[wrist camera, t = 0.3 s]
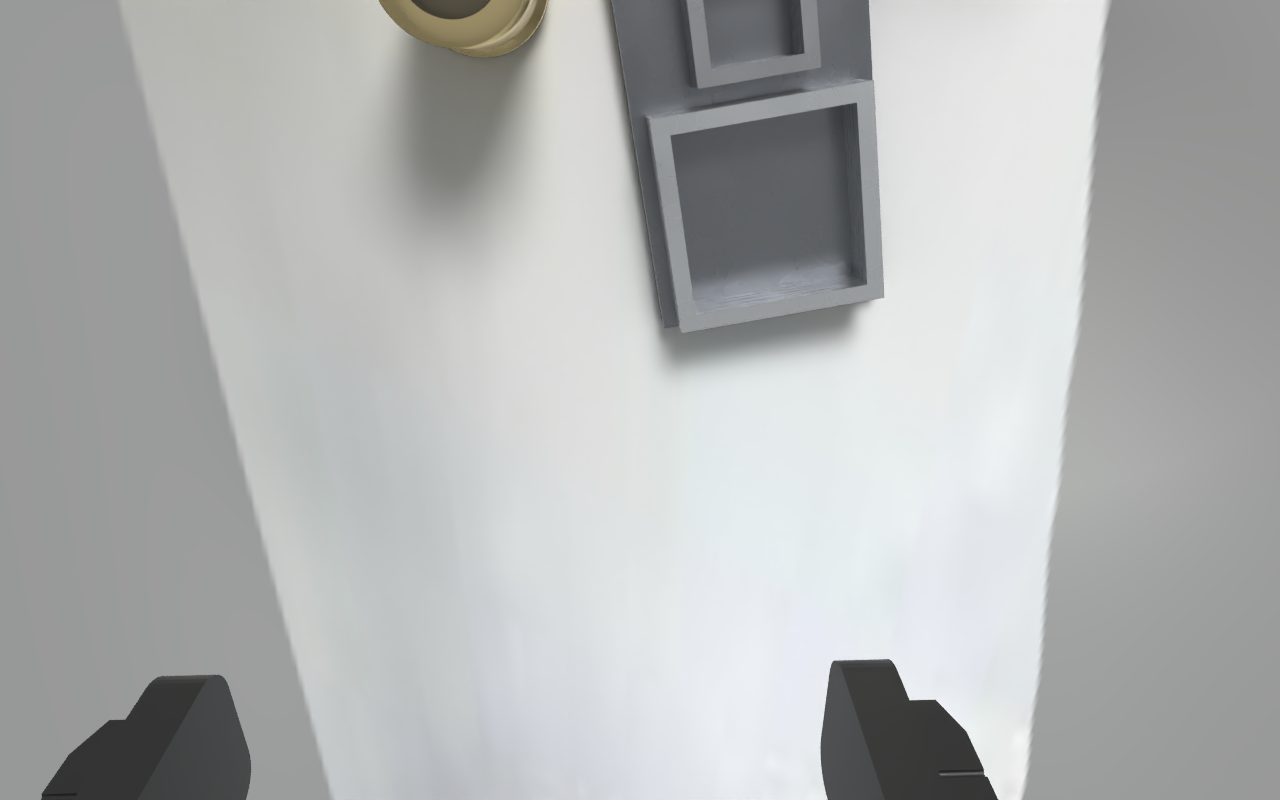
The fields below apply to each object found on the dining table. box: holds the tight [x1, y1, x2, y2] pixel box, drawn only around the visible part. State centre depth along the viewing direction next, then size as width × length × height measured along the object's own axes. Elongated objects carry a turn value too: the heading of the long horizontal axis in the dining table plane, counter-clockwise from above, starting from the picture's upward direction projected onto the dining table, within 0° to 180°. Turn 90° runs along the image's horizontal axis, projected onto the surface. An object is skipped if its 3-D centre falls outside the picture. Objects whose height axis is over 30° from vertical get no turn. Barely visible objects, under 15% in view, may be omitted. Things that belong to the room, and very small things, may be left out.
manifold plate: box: [611, 0, 884, 333], centre depth 34 cm, size 15×10×3 cm, turn 9°
